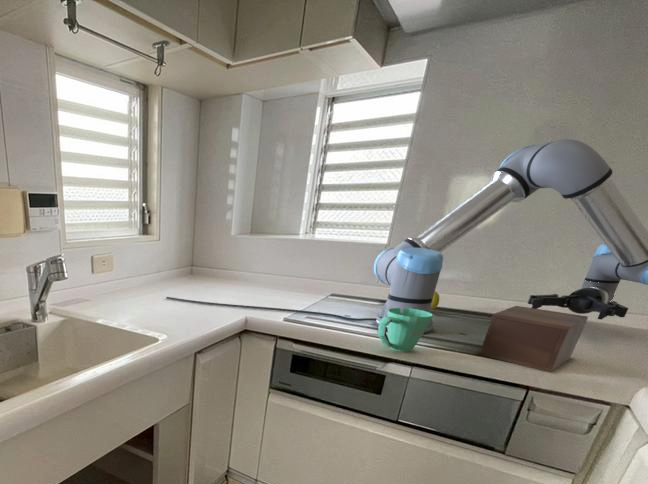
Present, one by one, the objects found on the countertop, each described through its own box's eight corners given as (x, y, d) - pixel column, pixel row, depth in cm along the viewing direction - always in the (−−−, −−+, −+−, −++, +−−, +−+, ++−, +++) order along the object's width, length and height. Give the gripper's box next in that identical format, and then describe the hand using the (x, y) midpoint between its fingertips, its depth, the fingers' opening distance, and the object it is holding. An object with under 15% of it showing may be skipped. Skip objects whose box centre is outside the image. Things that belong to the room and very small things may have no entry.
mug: (396, 341, 113) (404, 306, 109) (430, 352, 105) (441, 314, 101) (358, 348, 108) (366, 311, 104) (392, 360, 99) (402, 320, 96)
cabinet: (502, 344, 111) (515, 305, 107) (570, 358, 100) (588, 316, 96) (479, 355, 103) (493, 313, 99) (550, 372, 92) (569, 326, 88)
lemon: (415, 309, 148) (420, 288, 145) (431, 310, 147) (437, 288, 144) (421, 313, 143) (427, 291, 140) (438, 314, 142) (445, 291, 139)
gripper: (642, 320, 113) (626, 333, 103) (529, 304, 133) (505, 313, 122) (655, 294, 111) (640, 304, 100) (537, 281, 130) (514, 288, 119)
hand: (566, 309), depth 111 cm, fingers open, 13 cm apart
